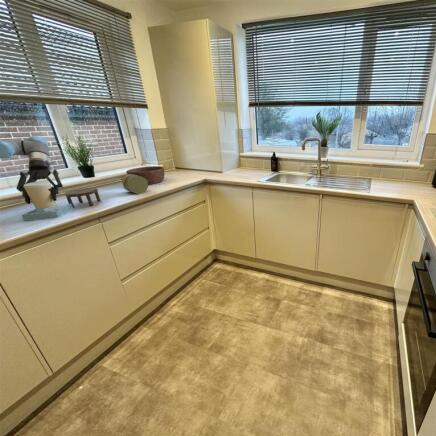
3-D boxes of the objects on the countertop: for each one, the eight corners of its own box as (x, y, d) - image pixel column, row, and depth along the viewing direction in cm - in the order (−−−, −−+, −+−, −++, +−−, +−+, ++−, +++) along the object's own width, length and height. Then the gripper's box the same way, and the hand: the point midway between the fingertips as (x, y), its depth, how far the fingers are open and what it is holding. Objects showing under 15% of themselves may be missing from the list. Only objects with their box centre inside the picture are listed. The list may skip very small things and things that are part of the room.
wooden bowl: (169, 182, 181) (166, 169, 177) (130, 188, 168) (126, 173, 164) (164, 177, 200) (161, 165, 196) (129, 181, 187) (125, 168, 184)
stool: (64, 209, 128) (58, 195, 125) (78, 202, 140) (73, 188, 137) (94, 206, 131) (89, 192, 128) (105, 199, 144) (101, 186, 141)
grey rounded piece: (141, 188, 166) (137, 172, 161) (149, 191, 159) (145, 174, 155) (123, 192, 157) (118, 175, 153) (131, 195, 151) (126, 177, 147)
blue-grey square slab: (24, 220, 114) (21, 215, 113) (43, 211, 126) (40, 206, 125) (58, 217, 117) (55, 211, 116) (73, 208, 129) (71, 203, 128)
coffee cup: (61, 205, 121) (52, 182, 117) (36, 211, 114) (25, 186, 109) (55, 202, 126) (46, 180, 121) (30, 207, 119) (20, 184, 114)
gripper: (69, 165, 131) (73, 200, 124) (14, 170, 121) (15, 208, 114) (63, 157, 125) (66, 193, 118) (4, 160, 115) (4, 200, 108)
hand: (41, 200), depth 116 cm, fingers closed on coffee cup, 9 cm apart
